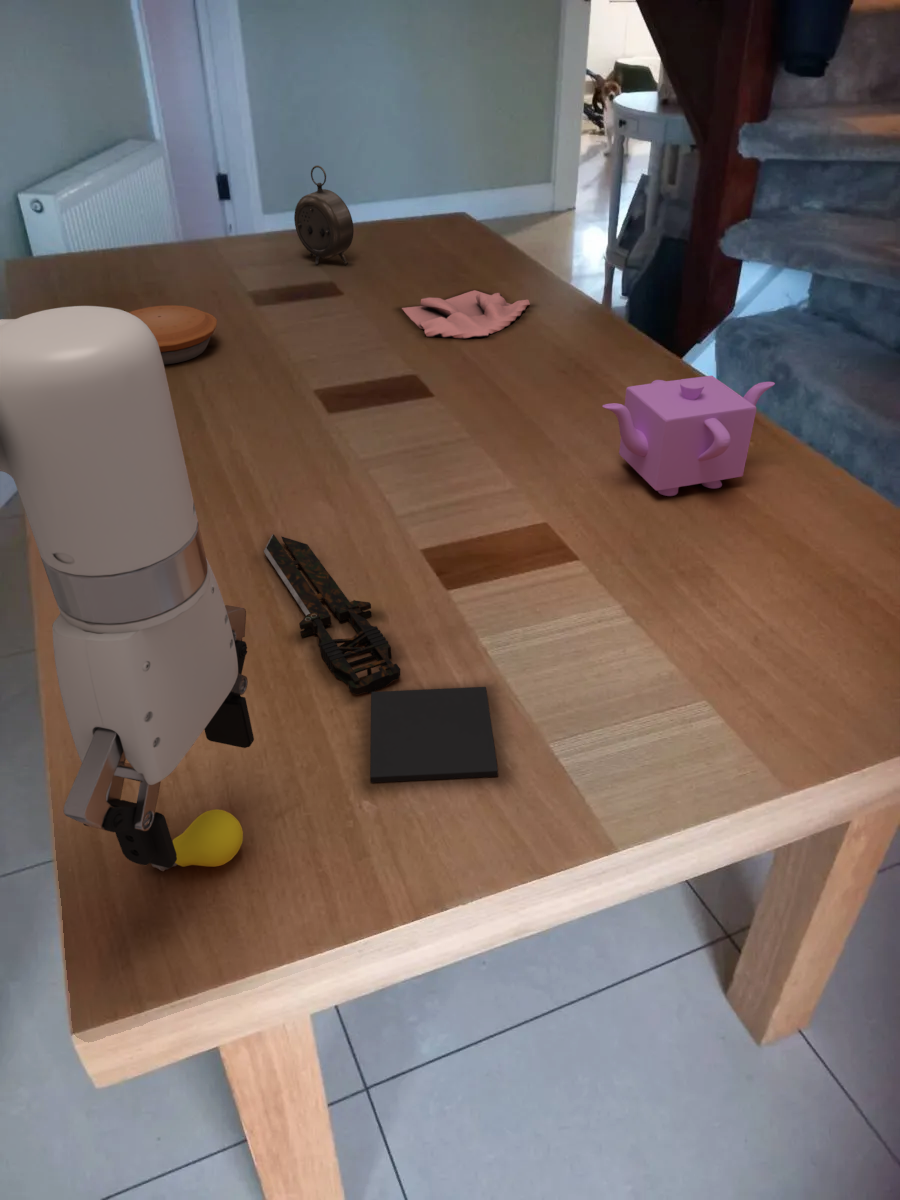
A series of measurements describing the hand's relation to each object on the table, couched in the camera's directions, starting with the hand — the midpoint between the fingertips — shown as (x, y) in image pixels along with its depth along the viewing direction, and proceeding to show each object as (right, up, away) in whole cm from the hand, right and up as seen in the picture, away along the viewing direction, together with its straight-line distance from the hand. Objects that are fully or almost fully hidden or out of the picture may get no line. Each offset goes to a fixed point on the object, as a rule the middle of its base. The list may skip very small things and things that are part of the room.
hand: (193, 796), depth 56 cm
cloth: (+19, +57, +88) cm, 106 cm away
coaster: (+14, +2, +12) cm, 19 cm away
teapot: (+41, +25, +45) cm, 66 cm away
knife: (+4, +11, +25) cm, 28 cm away
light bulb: (0, -5, +3) cm, 6 cm away
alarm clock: (-7, +73, +111) cm, 133 cm away
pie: (-25, +48, +76) cm, 93 cm away
